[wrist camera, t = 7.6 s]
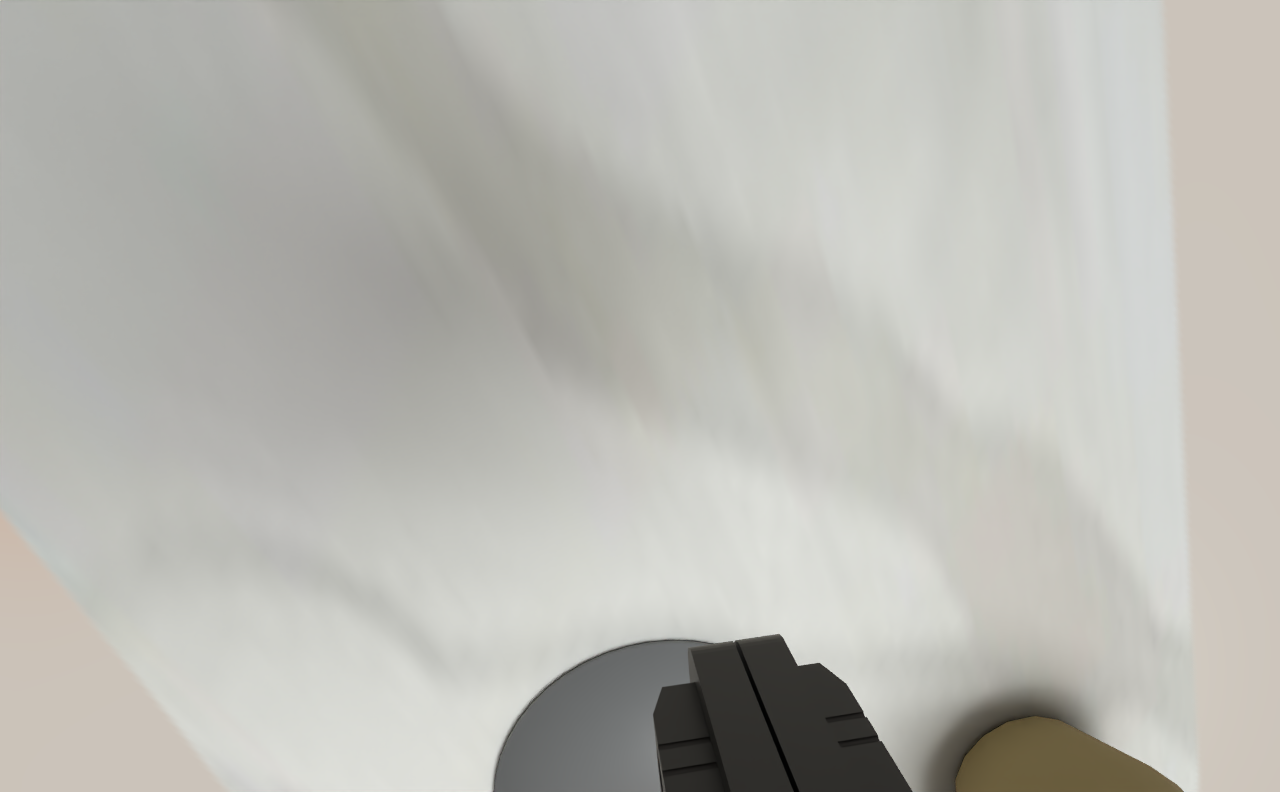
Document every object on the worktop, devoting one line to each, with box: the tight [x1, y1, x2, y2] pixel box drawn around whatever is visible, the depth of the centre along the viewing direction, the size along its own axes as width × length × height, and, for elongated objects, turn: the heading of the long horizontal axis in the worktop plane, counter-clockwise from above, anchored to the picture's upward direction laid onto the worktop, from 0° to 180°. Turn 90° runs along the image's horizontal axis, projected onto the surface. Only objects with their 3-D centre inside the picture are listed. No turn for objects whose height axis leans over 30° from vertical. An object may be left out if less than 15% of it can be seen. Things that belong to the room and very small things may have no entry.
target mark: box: [494, 640, 710, 792], centre depth 24 cm, size 13×13×1 cm
